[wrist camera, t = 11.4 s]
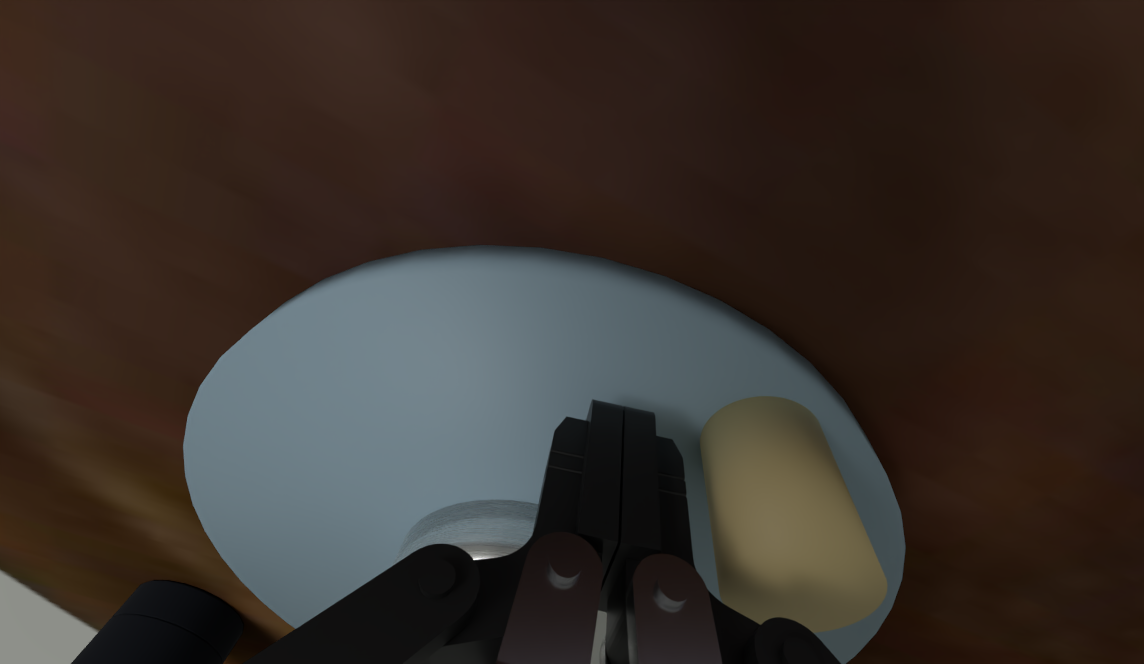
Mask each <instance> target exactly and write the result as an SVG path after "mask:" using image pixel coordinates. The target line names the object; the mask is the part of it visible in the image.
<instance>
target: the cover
mask: <svg viewBox="0 0 1144 664" xmlns="http://www.w3.org/2000/svg"><path fill="white" fill-rule="evenodd" d="M537 509H538V504H535V503H531V502H523V501H514V500H476V501H469V502H463V503H458V504H454V505H451V506H447V507H444V508H441V509H439V510H437V511H434V512H432V513H430V514H429V515H427V516H425V517H424V518H422V519H421V520H419V521H418V522H417V523H416V524H415V525H414V526H413V527H412V528H411V529H410V531H409V532H408V533H407V535H406V537H405V539H404V541H403V543H402V545H401V547H400V550H399V552H398V554H397V556H396V558H395V561H394V563H393V565H395V564H396V563H398V562H399V561H401V560H402V559H404V558H405V557H407V556H408V555H410V554H411V553H413V552H415V551H416V550H418V549H420V548H422V547H425V546H428V545H432V544H442V543H443V544H450V545H454V546H457V547H459V548H461V549H463V550H464V551H466V552H467V553H468V554H469V555H470V556H471V557H472V558H473V560H480V559H489V558H497V557H502V556H506V555H509V554H511V553H513V552H515V551H517V550H518V549H520V548H521V547H523V546H524V545H525V544H526V543H527V542H528V540H529V539H530V537H531V536H532V533H533V528H534V523H535V518H536V513H537ZM393 565H392V566H393ZM606 622H607V612H603V611H598V614H597V621H596V628H595V635H594V642H593V649H592V657H591V664H599V654H600V647H601V644H602V641H603V639H604V637H605V635H606Z"/></svg>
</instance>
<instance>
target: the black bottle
mask: <svg viewBox="0 0 1144 664" xmlns="http://www.w3.org/2000/svg"><path fill="white" fill-rule="evenodd" d="M243 626H244V625H243V623H242V621H241V619H240V617H239V615H238V614H237V613H236V612H235V611H234V610H233V609H232V608H231V607H230V606H228V605H227V604H225V603H224V602H222V601H221V600H220V599H218V598H217V597H215V596H213V595H211V594H209V593H207V592H205V591H202V590H200V589H197V588H194V587H192V586H189V585H186V584H182V583H177V582H172V581H150V582H146V583H143V584H141V585H140V586H139V587H138V588H137V589H136V591H135V592H134V593H133V594H132V595H131V596H130V597H129V598H128V600H127V601H126V602H125V603H124V604H123V605H122V606H121V608H120V609H119V610H118V611H117V612H116V613H115V614H114V615H113V617H112V618H111V619H110V620H109V621H108V622H107V623H106V625H105V626H104V627H103V628H102V629H101V630H100V631H99V632H98V634H97V635H96V636H95V637H94V638H93V639H92V641H91V642H90V643H89V644H88V645H87V646H86V648H84V649H83V651H82V652H81V653H80V654H79V655H78V656H77V657H76V659H75V660H74V661H73V662H72V663H71V664H223V662H224V661H225V659H226V658H227V656H228V655H229V653H230V652H231V650H232V649H233V647H234V645H235V644H236V642H237V641H238V639H239V638H240V636H241V635H242V632H243Z"/></svg>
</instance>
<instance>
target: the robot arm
mask: <svg viewBox="0 0 1144 664" xmlns="http://www.w3.org/2000/svg"><path fill="white" fill-rule="evenodd" d="M684 480H685V472H684V462H683V457H682V455H681V453H680V452H679V450H678V448H677V446H676V444H675V443H674V441H673V439H669V438H665V437H660V436H656V419H655V413H654V412H649V411H645V410H640V409H636V408H631V407H626V406H621V405H617V404H612V403H608V402H603V401H598V400H594V399H592V401H591V404H590V408H589V411H588V415H587V418H586V420H581V419H577V418H572V417H567V416H566V418H565V419H564V420H563V421H562V422H561V423H560V425H559V426H558V427H557V428H556V429H555V431H554V435H553V439H552V444H551V448H550V452H549V456H548V461H547V465H546V469H545V474H544V479H543V484H542V489H541V494H540V498H539V503H538V509H537V513H536V518H535V523H534V528H533V533H532V536H531V537H530V539H529V540H528V542H527V543H526V544H525V545H524V546H523V547H521V548H520V549H518V550H517V551H515V552H513V553H511V554H509V555H506V556H502V557H497V558H489V559H480V560H473V558H472V557H471V556H470V555H469V554H468V553H467V552H466V551H464V550H463V549H461V548H459V547H457V546H454V545H450V544H443V543H442V544H432V545H428V546H425V547H422V548H420V549H418V550H416V551H415V552H413V553H411V554H410V555H408V556H407V557H405V558H404V559H402V560H401V561H399V562H398V563H396V564H395V565H393V566H392V567H390V568H388V569H387V570H385V571H384V572H382V573H381V574H379V575H378V576H376V577H375V578H373V579H372V580H370V581H369V582H367V583H365V584H364V585H362V586H361V587H359V588H358V589H356V590H355V591H353V592H352V593H350V594H349V595H347V596H346V597H344V598H342V599H341V600H339V601H338V602H336V603H335V604H333V605H332V606H330V607H329V608H327V609H326V610H324V611H323V612H321V613H319V614H318V615H316V616H315V617H313V618H312V619H310V620H309V621H307V622H306V623H304V624H303V625H301V626H300V627H298V628H296V629H295V630H293V631H292V632H290V633H289V634H287V635H286V636H284V637H283V638H281V639H280V640H278V641H277V642H275V643H273V644H272V645H270V646H269V647H267V648H266V649H264V650H263V651H261V652H260V653H258V654H257V655H255V656H254V657H252V658H250V659H249V660H247V661H246V662H244V663H243V664H591V657H592V649H593V642H594V635H595V628H596V621H597V614H598V611H603V612H607V622H606V635H605V637H604V639H603V641H602V644H601V647H600V654H599V664H841V663H840V662H839V661H838V659H837V658H836V657H835V656H834V655H833V654H832V653H831V651H830V650H829V649H828V648H827V647H826V646H825V645H824V643H823V642H822V641H821V640H820V639H819V638H818V637H817V636H816V635H815V634H814V633H813V632H812V631H810V630H809V629H808V628H807V627H805V626H803V625H802V624H800V623H798V622H796V621H794V620H791V619H788V618H782V617H775V618H771V619H768V620H766V621H764V622H763V623H762V624H761V625H760V624H758V623H757V622H755V621H753V620H751V619H749V618H748V617H746V616H744V615H742V614H741V613H739V612H737V611H735V610H733V609H732V608H730V607H728V606H726V605H725V604H723V603H722V602H721V601H719V600H718V599H717V598H716V597H715V596H714V595H713V594H712V593H711V592H710V591H709V590H708V589H707V587H706V585H705V582H704V581H703V579H702V577H701V576H700V575H699V573H698V572H697V571H696V568H695V565H694V560H693V551H692V541H691V531H690V521H689V512H688V502H687V498H686V494H687V492H686V482H685V481H684Z"/></svg>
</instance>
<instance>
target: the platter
mask: <svg viewBox="0 0 1144 664" xmlns="http://www.w3.org/2000/svg"><path fill="white" fill-rule="evenodd" d="M592 399H594V400H598V401H603V402H608V403H612V404H617V405H621V406H626V407H631V408H636V409H640V410H645V411H649V412H654V413H655V419H656V436H660V437H665V438H669V439H673V441H674V443H675V444H676V446H677V448H678V450H679V452H680V453H681V455H682V457H683V462H684V472H685V480H684V481H685V482H686V492H687V494H686V498H687V502H688V512H689V521H690V531H691V541H692V551H693V560H694V565H695V568H696V571H697V572H698V573H699V575H700V576H701V577H702V579H703V581H704V582H705V585H706V587H707V589H708V590H709V591H710V592H711V593H712V594H713V595H714V596H715V597H716V598H717V599H718V600H719V601H721V602H722V603H723V604H725V605H726V606H728V607H730V608H732V609H733V610H735V611H737V612H739V613H741V614H742V615H744V616H746V617H748V618H749V619H751V620H753V621H755V622H757V623H758V624H760V625H761V624H762V623H763V622H764V621H766V620H768V619H771V618H775V617H782V618H788V619H791V620H794V621H796V622H798V623H800V624H802V625H803V626H805V627H807V628H808V629H809V630H810V631H812V632H813V633H814V634H815V635H816V636H817V637H818V638H819V639H820V640H821V641H822V642H823V643H824V645H825V646H826V647H827V648H828V649H829V650H830V651H831V653H832V654H833V655H834V656H835V657H836V658H837V659H838V661H839V662H840V663H841V664H846V663H847V662H848V661H850V660H851V659H852V658H853V657H855V656H856V655H857V654H858V653H859V652H860V650H861V649H862V648H863V647H864V646H865V645H866V644H867V643H868V642H869V641H870V640H871V638H872V637H873V636H874V635H875V634H876V633H877V631H878V630H879V628H880V626H881V625H882V623H883V622H884V620H885V618H886V617H887V615H888V613H889V612H890V610H891V609H892V606H893V603H894V601H895V598H896V595H897V592H898V589H899V587H900V584H901V581H902V576H903V566H904V557H905V548H906V547H905V539H904V531H903V524H902V516H901V511H900V508H899V506H898V503H897V500H896V498H895V495H894V492H893V490H892V487H891V484H890V482H889V479H888V476H887V474H886V472H885V471H884V469H883V467H882V465H881V463H880V461H879V459H878V457H877V455H876V453H875V452H874V450H873V448H872V446H871V444H870V442H869V440H868V438H867V436H866V435H865V433H864V431H863V430H862V428H861V427H860V425H859V423H858V422H857V420H856V419H855V417H854V415H853V414H852V412H851V411H850V409H849V407H848V406H847V404H846V403H845V401H844V399H843V398H842V397H841V396H840V395H839V394H838V393H837V392H836V390H835V389H834V388H833V387H832V386H831V385H830V384H829V383H828V382H827V380H826V379H825V378H824V377H823V376H822V375H821V374H820V373H819V372H818V370H817V369H816V368H815V367H814V366H813V365H812V364H811V363H810V362H809V361H808V360H806V359H805V358H804V357H803V356H801V355H800V354H799V353H798V352H796V351H795V350H794V349H793V348H792V347H790V346H789V345H788V344H787V343H785V342H784V341H783V340H782V339H780V338H779V337H778V336H777V335H775V334H774V333H773V332H772V331H771V330H769V329H767V328H766V327H764V326H762V325H761V324H759V323H757V322H756V321H754V320H752V319H751V318H749V317H747V316H746V315H744V314H742V313H741V312H739V311H737V310H736V309H734V308H732V307H731V306H729V305H727V304H726V303H724V302H722V301H721V300H718V299H716V298H714V297H712V296H709V295H707V294H705V293H702V292H700V291H698V290H695V289H693V288H691V287H689V286H686V285H684V284H682V283H679V282H677V281H675V280H672V279H670V278H668V277H666V276H663V275H659V274H656V273H653V272H649V271H646V270H642V269H639V268H636V267H632V266H629V265H625V264H622V263H619V262H615V261H612V260H608V259H605V258H600V257H594V256H588V255H582V254H576V253H570V252H564V251H558V250H552V249H546V248H538V247H515V246H492V245H473V246H461V247H449V248H438V249H426V250H418V251H414V252H410V253H405V254H401V255H396V256H392V257H387V258H383V259H378V260H374V261H370V262H367V263H364V264H361V265H359V266H356V267H354V268H351V269H349V270H346V271H344V272H341V273H338V274H336V275H333V276H331V277H328V278H326V279H323V280H321V281H320V282H318V283H316V284H315V285H313V286H311V287H310V288H308V289H306V290H305V291H303V292H301V293H300V294H298V295H296V296H295V297H293V298H291V299H290V300H288V301H286V302H285V303H284V304H282V305H281V306H280V307H279V308H277V309H276V310H275V311H274V312H272V313H271V314H270V315H269V316H268V317H266V318H265V319H264V320H263V321H261V322H260V323H259V324H258V325H256V326H255V327H254V328H253V329H251V330H250V331H249V332H248V333H247V334H246V335H245V336H243V337H242V338H241V339H240V340H239V341H238V342H237V343H236V344H235V345H233V346H232V347H231V348H230V349H229V350H228V351H227V352H226V353H225V354H223V355H222V356H221V357H220V359H219V360H218V361H217V363H216V364H215V366H214V367H213V369H212V370H211V371H210V373H209V374H208V376H207V377H206V378H205V380H204V381H203V383H202V384H201V385H200V387H199V390H198V392H197V395H196V397H195V400H194V402H193V405H192V407H191V410H190V412H189V414H188V418H187V425H186V432H185V438H184V445H183V450H184V464H185V477H186V480H187V484H188V488H189V492H190V495H191V499H192V503H193V506H194V508H195V510H196V512H197V515H198V517H199V519H200V521H201V523H202V525H203V528H204V530H205V532H206V534H207V535H208V537H209V538H210V540H211V541H212V543H213V545H214V546H215V548H216V549H217V551H218V552H219V554H220V555H221V557H222V558H223V560H224V561H225V562H226V563H227V564H228V566H229V567H230V568H231V569H232V570H233V572H234V573H235V574H236V575H237V577H238V578H239V579H240V580H241V581H242V582H243V583H244V584H245V585H246V586H247V587H248V588H249V589H250V590H251V591H252V592H253V593H254V594H255V595H256V596H257V597H258V598H259V599H260V600H261V601H262V602H263V603H264V604H265V605H266V606H268V607H269V608H270V609H271V610H272V611H274V612H275V613H276V614H277V615H278V616H280V617H281V618H282V619H283V620H284V621H286V622H287V623H288V624H290V625H291V626H292V627H294V628H295V629H296V628H298V627H300V626H301V625H303V624H304V623H306V622H307V621H309V620H310V619H312V618H313V617H315V616H316V615H318V614H319V613H321V612H323V611H324V610H326V609H327V608H329V607H330V606H332V605H333V604H335V603H336V602H338V601H339V600H341V599H342V598H344V597H346V596H347V595H349V594H350V593H352V592H353V591H355V590H356V589H358V588H359V587H361V586H362V585H364V584H365V583H367V582H369V581H370V580H372V579H373V578H375V577H376V576H378V575H379V574H381V573H382V572H384V571H385V570H387V569H388V568H390V567H392V565H393V563H394V561H395V558H396V556H397V554H398V552H399V550H400V547H401V545H402V543H403V541H404V539H405V537H406V535H407V533H408V532H409V531H410V529H411V528H412V527H413V526H414V525H415V524H416V523H417V522H418V521H419V520H421V519H422V518H424V517H425V516H427V515H429V514H430V513H432V512H434V511H437V510H439V509H441V508H444V507H447V506H451V505H454V504H458V503H463V502H469V501H476V500H514V501H523V502H531V503H535V504H538V503H539V498H540V494H541V489H542V484H543V479H544V474H545V469H546V465H547V461H548V456H549V452H550V448H551V444H552V439H553V435H554V431H555V429H556V428H557V427H558V426H559V425H560V423H561V422H562V421H563V420H564V419H565V418H566V416H567V417H572V418H577V419H581V420H586V418H587V415H588V411H589V408H590V404H591V401H592Z"/></svg>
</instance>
